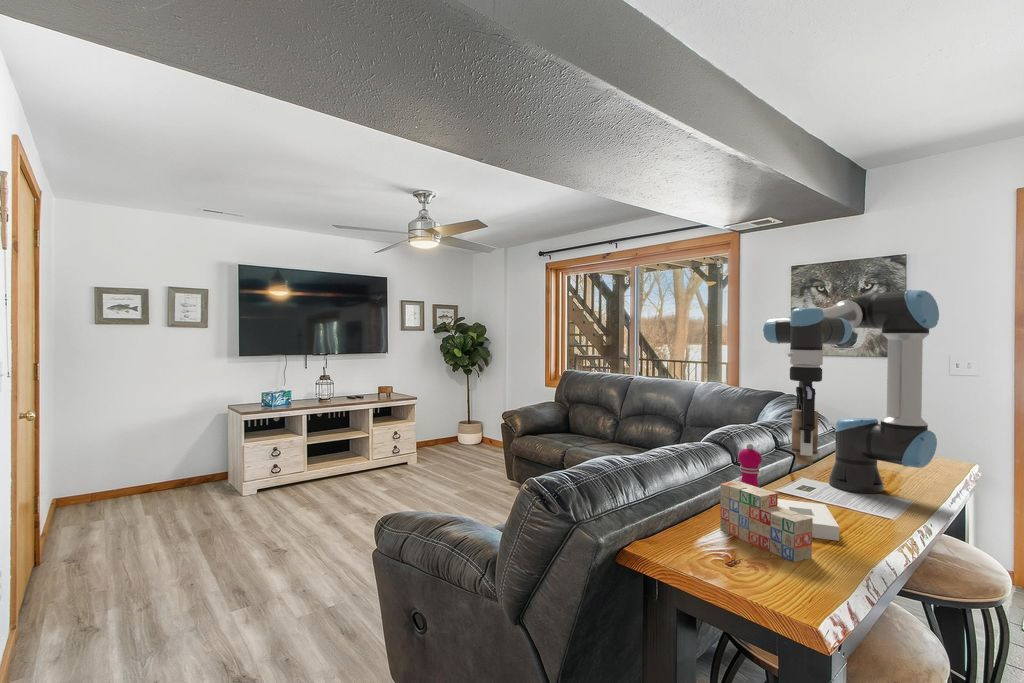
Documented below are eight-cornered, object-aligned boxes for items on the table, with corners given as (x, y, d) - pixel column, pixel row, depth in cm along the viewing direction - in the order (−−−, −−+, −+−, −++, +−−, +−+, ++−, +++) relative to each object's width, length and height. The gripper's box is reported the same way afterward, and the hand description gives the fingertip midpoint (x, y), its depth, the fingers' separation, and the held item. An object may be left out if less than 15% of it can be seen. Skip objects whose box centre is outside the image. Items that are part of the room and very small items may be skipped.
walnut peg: (815, 461, 137) (816, 410, 137) (819, 467, 132) (820, 413, 131) (789, 459, 140) (790, 408, 139) (792, 464, 134) (793, 411, 134)
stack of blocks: (812, 558, 115) (813, 504, 115) (793, 563, 113) (794, 508, 112) (737, 525, 135) (737, 479, 135) (719, 529, 132) (719, 482, 132)
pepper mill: (766, 519, 139) (767, 447, 139) (738, 517, 140) (739, 445, 140) (759, 510, 146) (760, 441, 146) (732, 508, 148) (733, 440, 147)
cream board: (824, 516, 141) (825, 504, 141) (839, 540, 125) (839, 526, 125) (768, 510, 147) (769, 498, 147) (775, 532, 130) (775, 518, 130)
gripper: (785, 364, 146) (784, 444, 146) (795, 367, 128) (793, 458, 128) (815, 365, 143) (814, 446, 143) (829, 368, 125) (827, 461, 125)
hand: (804, 452), depth 136 cm, fingers closed on walnut peg, 6 cm apart
